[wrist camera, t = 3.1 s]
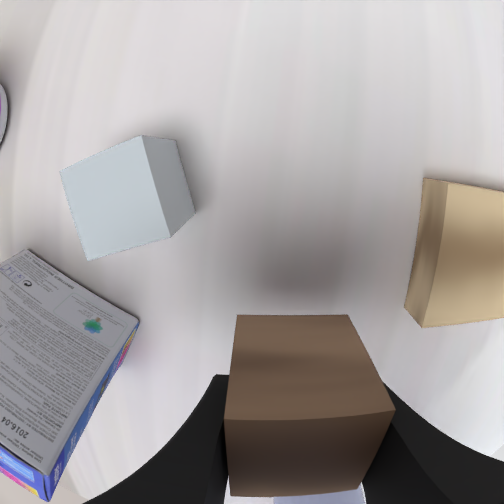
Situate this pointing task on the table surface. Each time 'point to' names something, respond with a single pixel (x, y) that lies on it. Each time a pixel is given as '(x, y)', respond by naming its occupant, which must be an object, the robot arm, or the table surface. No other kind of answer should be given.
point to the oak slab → (458, 256)
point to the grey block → (128, 195)
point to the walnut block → (301, 406)
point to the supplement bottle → (2, 112)
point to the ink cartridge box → (51, 367)
